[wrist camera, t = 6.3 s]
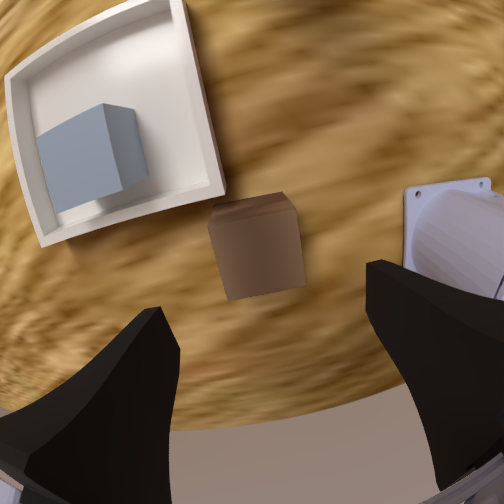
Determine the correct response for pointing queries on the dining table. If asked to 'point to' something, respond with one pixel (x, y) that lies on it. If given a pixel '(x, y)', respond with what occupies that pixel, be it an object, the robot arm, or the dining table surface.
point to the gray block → (92, 156)
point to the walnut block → (257, 245)
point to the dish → (125, 95)
